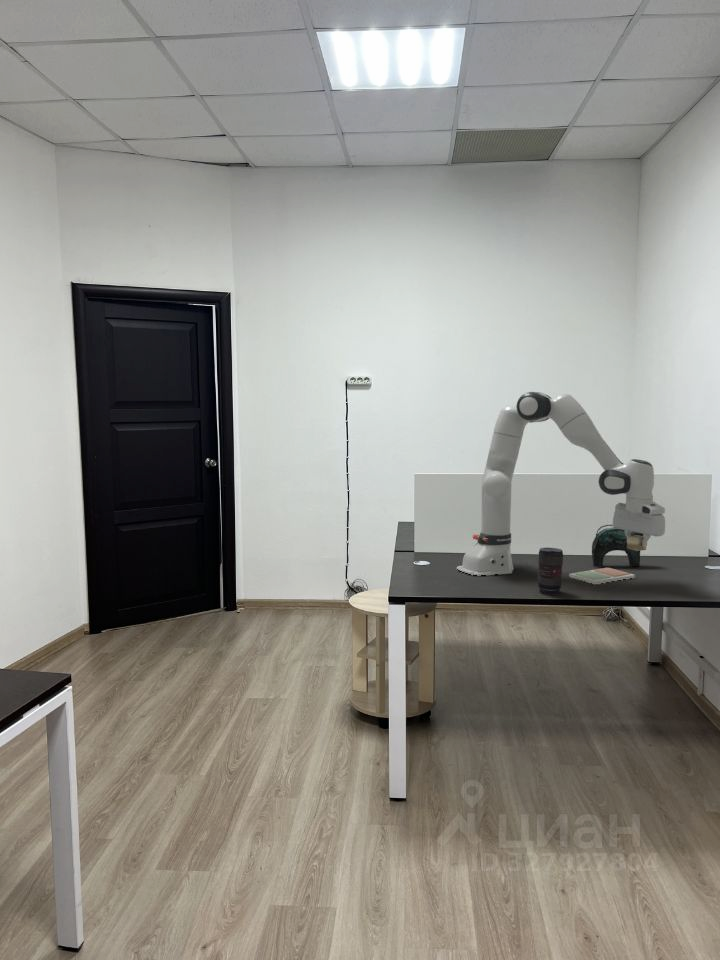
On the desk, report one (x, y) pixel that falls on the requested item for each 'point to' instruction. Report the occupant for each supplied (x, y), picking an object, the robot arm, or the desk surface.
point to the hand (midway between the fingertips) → (636, 544)
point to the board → (601, 575)
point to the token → (635, 543)
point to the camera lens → (550, 570)
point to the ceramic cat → (613, 545)
